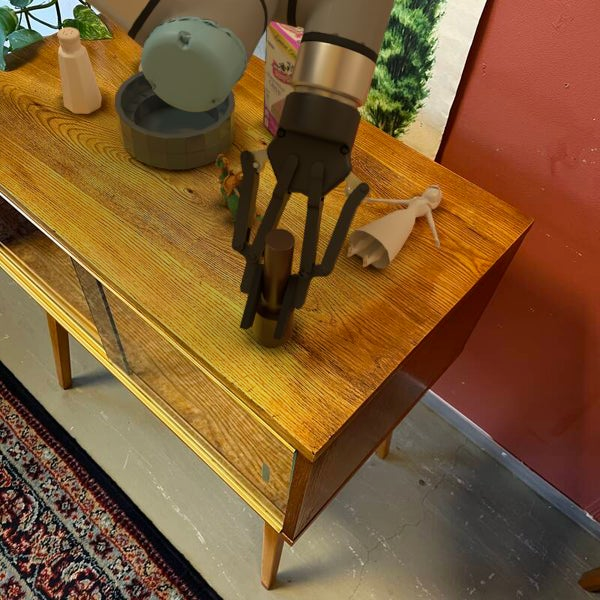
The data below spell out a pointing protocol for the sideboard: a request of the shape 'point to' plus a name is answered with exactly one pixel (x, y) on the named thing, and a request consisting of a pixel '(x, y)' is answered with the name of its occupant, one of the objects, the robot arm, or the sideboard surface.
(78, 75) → the pepper shaker
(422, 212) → the woman figurine
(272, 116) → the candy bar box
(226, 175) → the figurine
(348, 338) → the sideboard surface
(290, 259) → the pestle
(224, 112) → the bowl
